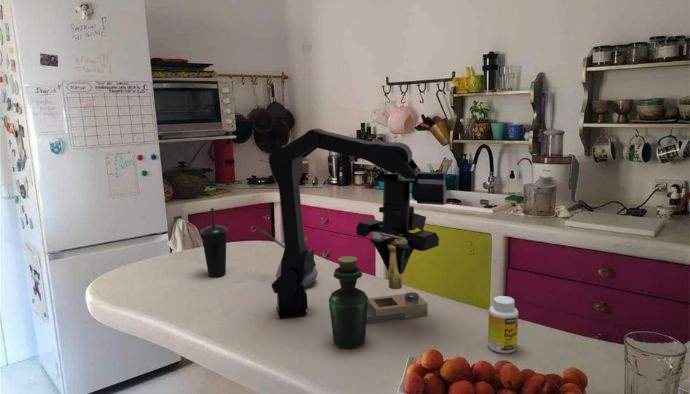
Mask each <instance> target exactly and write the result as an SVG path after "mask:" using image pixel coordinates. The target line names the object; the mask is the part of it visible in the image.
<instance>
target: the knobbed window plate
mask: <svg viewBox="0 0 690 394" xmlns="http://www.w3.org/2000/svg"><path fill="white" fill-rule="evenodd" d="M428 304H429V303H428V302H427V301H426V300H425V299H424V298H423V297H422V296H421V295H419V293H417V292H409V291H408V292H406V293H401V294H400V293H399V294H392V295H383V296H377V297H368V310H367V323H366V325H367V324H368V325H369V324H376V323H382V322H389V321H390V322H391V321H397V320H404V319H410V318H417V317H419V318H420V317H425V316H426V317H428V314H429V313H428V311H429V309H428V306H429V305H428Z"/></svg>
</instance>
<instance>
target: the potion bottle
mask: <svg viewBox="0 0 690 394" xmlns="http://www.w3.org/2000/svg"><path fill="white" fill-rule="evenodd" d="M357 260H358V258H357V257H355V256H348V255H347V256H340V257H338V258H337V263H338V266H339V267H336V268H335V269H334V273H333V277H334V278H335V279H337V280H338V282H339V285H340V287H339V288H338V289H336V290H334V291H332V292H331V294H330V295H329V298H328V306H329V314H330V323H331V329H332V337H333V339H332V340H333V343H334V345H335V346H337V347H338V348H341V349H344V350H345V349H346V350H352V349H353V350H354V349H358V348H360V347H362V346H364V344H365V342H366V336H367V335H366V334H367V324H366V323H367V310H368V298H369V297H368V295H367V293H366V292H365V291H364V290H361V289H360V288H357V287H356V284H357V281H358V279H360V278H362V277H363V273H362V270H361V268H359V267H358V266H357Z"/></svg>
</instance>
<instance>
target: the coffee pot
mask: <svg viewBox="0 0 690 394" xmlns="http://www.w3.org/2000/svg"><path fill="white" fill-rule="evenodd" d="M249 229H250V232H251V233H253V232H255V231H257V232H258V233H260V234H261V235H262V236H264V237H265V238H266V239H269V240H271V241H272V242H274V243H276V244H277V245H278V246H280V247H281V248H283V249H285V243H284V239H283V243H282V242H281V241H279V240H278V239H276V238H275V237H274V236H273V235H271V234H270V233H268V231H266V230H263V229H262V228H261V227H258V226H256V224H255V225H254V224H253V225H252V226H251V228H249ZM252 229H254V230H252ZM307 241H308V237H307V236H304V242H305V243H306V242H307ZM281 261H282V258H281V260H280V263H279V265H278V268H277V271H276V274H275V278H276V280H277V279H278V278H279V277H280V276H281ZM318 274H319V272H318V270H317V268H316V266H315V267H314V268H313V272H312V274H311V275H310V276H309V277H308V278H307V279H306V282H305V283H303V286H304V289H305V288H308V287H310V286H311V285H312V283H313V282H315V280H316V279H317V277H318V276H319V275H318Z"/></svg>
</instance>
